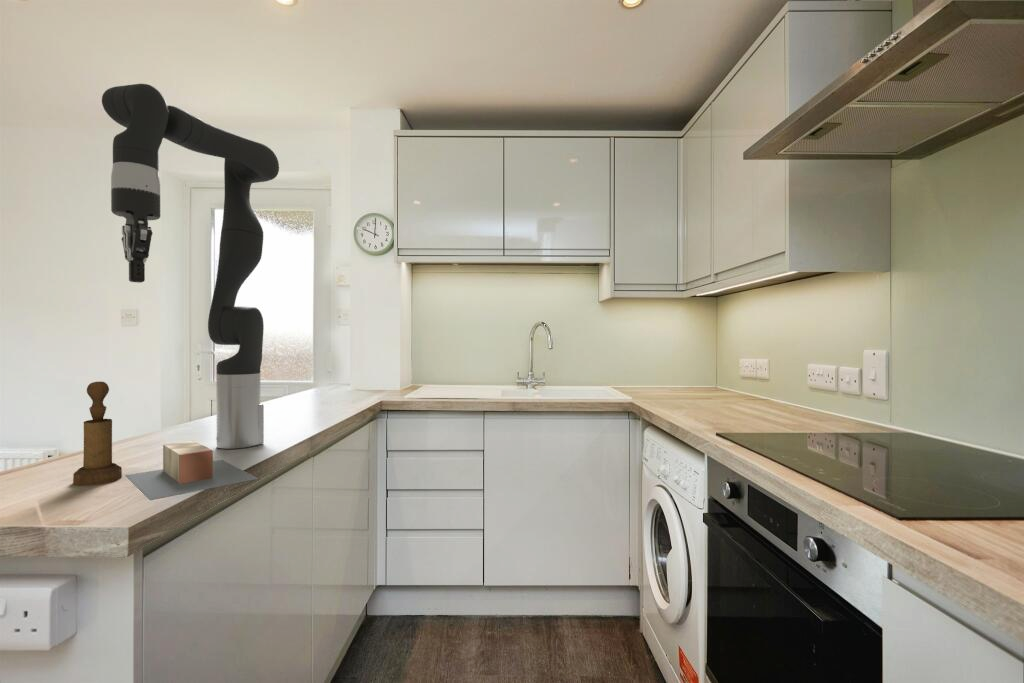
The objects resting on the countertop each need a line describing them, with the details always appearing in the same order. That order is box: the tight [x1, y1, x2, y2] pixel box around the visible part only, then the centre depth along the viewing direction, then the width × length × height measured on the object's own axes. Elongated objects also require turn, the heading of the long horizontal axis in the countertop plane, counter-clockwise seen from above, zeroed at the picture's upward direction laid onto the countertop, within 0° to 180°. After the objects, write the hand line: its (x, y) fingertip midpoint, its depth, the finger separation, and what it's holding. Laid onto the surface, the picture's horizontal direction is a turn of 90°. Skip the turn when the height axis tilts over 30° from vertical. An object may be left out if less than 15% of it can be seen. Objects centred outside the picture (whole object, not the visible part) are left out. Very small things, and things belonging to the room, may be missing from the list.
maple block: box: [162, 440, 214, 484], centre depth 91 cm, size 5×5×12 cm
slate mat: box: [125, 459, 259, 501], centre depth 89 cm, size 16×20×1 cm
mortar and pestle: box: [72, 381, 123, 487], centre depth 87 cm, size 7×6×18 cm
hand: (136, 281), depth 95 cm, fingers closed
